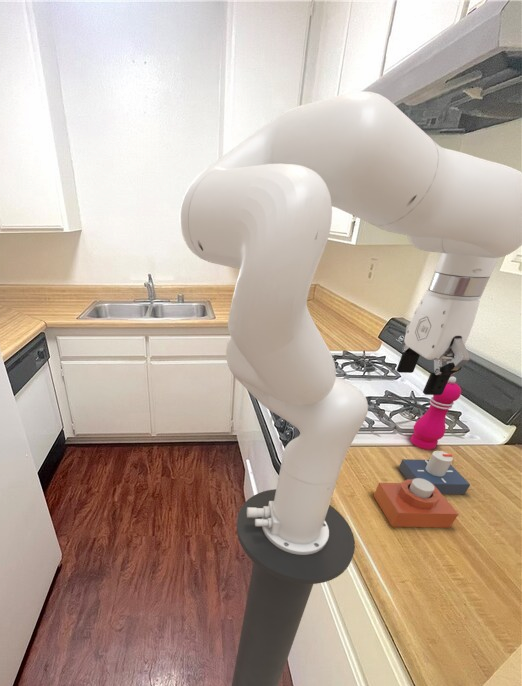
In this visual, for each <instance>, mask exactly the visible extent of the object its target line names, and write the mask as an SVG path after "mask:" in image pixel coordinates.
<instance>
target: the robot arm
mask: <svg viewBox="0 0 522 686" xmlns="http://www.w3.org/2000/svg"><path fill="white" fill-rule="evenodd" d="M180 204H181V205H180V210H179V228H180V233H181V236H182V239H183V241H184V242H185V244H186V246H187V248H188V249H189V250H190V252H192V254H194V255H195V256H196V257H197V258H200V260H203V261H204V262H208V263H211V264H215V265H219V266H224V267H227V268H232V269H236V270H239V272H238V276H237V279H236V282H235V287H234V291H233V293H232V299H231V302H230V303H231V304H230V308H229V313H228V319H227V328H228V329H227V330H228V333H229V337H228V340H227V343H226V348H225V357H226V364H227V366H228V369H229V371H230V373H231V374H232V375H233V376H234V378H235V379H236V380H237V381H238V382H239V383H240V384H241V386H243V387H244V388H245V389H246V391H248V392H249V393H250V394H251V395H252V396H253V397H254V399H256V400H257V401H258V402H259V403H260V404H261V406H263V407H265V408H266V409H268V410H269V411H271V412H272V413H273V414H275V415H276V416H278V417H280V418H281V419H283V420H285V421H286V422H288V423H289V424H290V425H291V426H293V427H295V428H296V429H297V430H298V432H299V434H298V436H296V437H295V438H292V439H291V440H290V441H289V442H288V443H287V444H286V446H285V447H284V450H283V452H282V457H281V463H280V468H279V473H278V478H277V483H276V488H275V489H276V493H275V498H274V501H269V504H268V506H263V508H253V507H247V517H249V518H257V517H262V519H255V526H262V529H263V532H264V534H265V536H266V537H267V538H268V539H269V541H270V542H272V543H273V544H274V545H275V546H277V547H278V548H280V549H282V550H284V551H286V552H289V553H292V554H298V555H308V554H313V553H316V552H318V551H320V550H321V549H322V548H323V547H324V546H325V545H326V543H327V541H328V537H329V529H328V525H327V523H326V521H325V517H326V514H327V511H328V508H329V505H331V502H332V499H333V495H334V493H335V489H336V487H337V484H338V480H339V477H340V473H341V471H342V468H343V465H344V462H345V459H346V456H347V454H348V452H349V449H350V448H351V446H352V443H353V441H354V439H355V438H356V436H357V434H358V433H359V431H360V429H361V428H362V426H363V425H364V422H365V420H366V418H367V416H368V411H369V402H368V399H367V397H366V395H365V394H364V392H362V390H360V389H359V388H358V387H357V386H356V385H354V384H353V383H351V382H349V381H347V380H346V379H343V378H342V377H339V376H337V371H336V363H335V360H334V357H333V355H332V352H331V350H330V348H329V347H328V345H327V343H326V342H325V340H324V338H323V336H322V334H321V332H320V330H319V329H318V327H317V325H316V323H315V321H314V320H313V318H312V316H311V313H310V311H309V308H308V297H309V293H310V289H311V285H312V283H313V280H314V277H315V275H316V272H317V269H318V266H319V264H320V262H321V259H322V256H323V254H324V251H325V248H326V247H327V244H328V240H329V237H330V232H331V227H332V220H333V208H336V209H337V210H340V211H343V212H345V213H347V214H349V215H352V216H353V217H356V218H358V219H359V220H362V221H363V222H366V223H368V224H370V225H373V226H374V227H376V228H378V229H379V230H383V231H386V232H389V233H393V234H398V235H403V236H406V237H407V239H408V241H409V243H410V244H411V246H413V247H414V248H415V249H417V250H420V251H423V252H429V253H430V252H431V253H438V254H440V256H439V258H438V261H437V264H436V267H435V270H434V272H433V275H432V278H431V279H430V280H431V281H430V283H429V285H428V288H427V289H426V290H425V293H424V294H423V296H422V297H421V299H420V300H419V303H418V304H417V307H416V309H415V311H414V313H413V315H412V318H411V320H410V323H409V324H406V326H405V333H404V334H405V335H404V337H403V342H404V345H403V346H402V348H401V350H402V354H401V356H400V359H399V362H398V364H397V368H396V372H397V373H401V374H402V373H404V374H412V373H414V371H415V369H416V367H417V364H418V361H419V360H420V359H419V358H420V357H422V358H424V359H426V360H428V361H429V360H430V361H433V370H434V371H433V372H430V374H429V377H428V378H427V381H426V383H425V386H424V388H423V390H422V393H423V395H426V396H433V395H441V394H442V393H443V391H444V389H445V387H446V385H447V382H448V380H449V378H450V377H452V376H454V375H455V374H456V373H457V372H459V371H461V369H462V368H463V367H464V366H465V365H466V364H467V363H468V362H469V361H470V360H471V356H470V354H469V352H468V349H467V347H466V343H467V341H468V338H469V336H470V334H471V331H472V329H473V325H474V323H475V319H476V316H477V313H478V309H479V307H480V306H479V305H480V302H481V298H482V296H483V293H484V291H485V289H486V287H487V285H488V282H489V280H490V278H491V276H492V273H493V271H494V269H495V267H496V265H497V263H498V260H499V258H503V257H506V256H508V255H510V254H513V253H514V252H515V251H517V250H518V249H519V248H520V247H521V246H522V171H520V170H518V169H516V168H514V167H511V166H508V165H506V164H502V163H498V162H495V161H493V160H488V159H484V158H481V157H477V156H475V155H471V154H468V153H465V152H461V151H458V150H455V149H449V148H445V147H442V146H440V145H439V144H438V143H437V142H436V141H435V140H434V139H432V138H431V137H430V136H429V135H428V134H427V133H426V132H425V131H424V130H423V129H422V128H420V126H419V125H417V124H416V123H415V122H414V121H413V120H412V119H411V118H409V116H407V115H406V113H404V112H403V111H402V110H401V109H400V108H399V107H397V105H396V104H394V103H393V102H392V101H390V99H388V98H387V97H385V96H384V95H382V94H381V93H377V92H373V91H365V90H363V91H361V90H359V91H353V92H347V93H343V94H339V95H337V96H332V97H328V98H324V99H320V100H317V101H313V102H309V103H305V104H301V105H298V106H295V107H292V108H290V109H288V110H285V111H284V112H282V113H280V114H279V115H277V116H275V117H274V118H273V119H272V120H270V121H268V122H267V123H266V124H264V125H262V126H261V127H260V128H259V129H257V130H256V131H255V132H253V133H252V134H251V135H249V136H248V137H246V138H245V139H244V140H242V141H241V142H240V143H239V144H237V145H236V146H235V147H233V148H232V149H231V150H229V151H228V152H227V153H225V154H224V155H222V156H221V157H220V158H219V159H217V160H215V161H214V162H213V163H212V164H210V165H209V166H207V167H206V168H205V169H204V170H202V171H201V172H200V173H199V174H198V175H196V177H195V178H194V179H193V180H192V182H191V183H190V184H189V185H188V187H187V189H186V191H185V193H184V195H183V198H182V201H181V203H180ZM443 362H446V364H445V365H443Z"/></svg>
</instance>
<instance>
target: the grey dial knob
mask: <svg viewBox="0 0 522 686" xmlns="http://www.w3.org/2000/svg"><path fill="white" fill-rule="evenodd" d="M428 460H429V462H428V464H427V466H426V471H427V472H428V473H430V474H432V475H434V476H439V477H441V476H444V475H445V473H446V472H447V470H448V468H449V466H450V464H451V465H452V462H453V460H454V458H453V454H451V453H448V452H446V451H442V450H434V451H433V452H432V453H431V455H430V458H429V459H428Z"/></svg>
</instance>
